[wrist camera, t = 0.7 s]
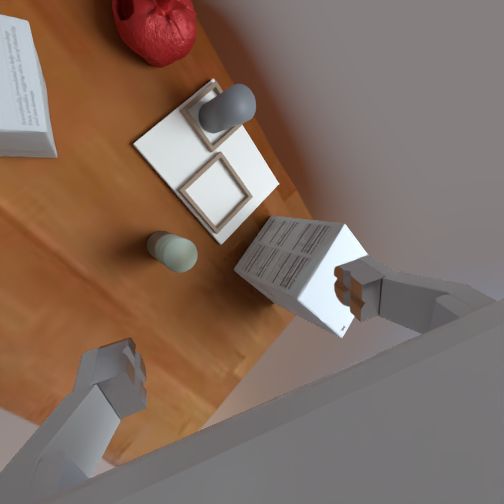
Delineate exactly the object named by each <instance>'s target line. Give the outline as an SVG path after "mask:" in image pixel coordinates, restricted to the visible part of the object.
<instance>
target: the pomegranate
mask: <svg viewBox="0 0 504 504" xmlns="http://www.w3.org/2000/svg"><path fill="white" fill-rule="evenodd" d="M112 12H113V16H114V19H115V24H116V28H117V30H118V33H119V36H120V37H121V39H122V41H123V42H124V43H125V44H126V45H127V46H128V47H129V48H130V49H131V50H132V51H133V52H135V53H137V54H138V55H140V56H141V57H142V58H144V59H145V60H146V61H147V62H148V63H149V64H150V65H154V66H156V67H160V68H161V67H164V66H167V65H169V64H171V63H173V62H175V61H176V60H179V59H182V58H183V57H185V56H186V55H187V54H188V53H189V51H190V50H191V48H192V46H193V44H194V42H195V38H196V33H197V32H196V31H197V28H196V20H195V17H196V15H195V14H196V13H195V12H194V7H193V5H192V3H191V1H190V0H112Z"/></svg>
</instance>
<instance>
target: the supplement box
mask: <svg viewBox="0 0 504 504" xmlns="http://www.w3.org/2000/svg"><path fill="white" fill-rule="evenodd" d="M366 255H368V254H367V253H366V252H365V250H364V249H363V248H362V246H361V245H360V243H359V242H358V241H357V239H356V238H355V237H354V235H353V234H352V233H351V231H350V230H349V229H348V227H347V226H346V225H345V224H342V223H333V222H323V221H315V220H306V219H297V218H288V217H279V216H270V218H269V219H268V221H267V222H266V223H265V225H264V226H263V228H262V229H261V231H260V232H259V233H258V235H257V236H256V238H255V239H254V241H253V242H252V243H251V245H250V246H249V248H248V249H247V251H246V252H245V253H244V255H243V256H242V258H241V259H240V261H239V262H238V263H237V265H236V266H235V268H234V271H235V272H236V273H237V274H239V275H240V276H241V277H242V278H244V279H245V280H246V281H247V282H249V283H250V284H251V285H252V286H254V287H255V288H256V289H257V290H259V291H260V292H261V293H262V294H264V295H265V296H266V297H267V298H269V299H270V300H271V301H272V302H274V303H275V304H277V305H279V306H281V307H282V308H284V309H286V310H288V311H290V312H292V313H294V314H296V315H298V316H300V317H302V318H304V319H305V320H307V321H309V322H311V323H313V324H315V325H317V326H319V327H321V328H322V329H324V330H326V331H328V332H330V333H332V334H334V335H336V336H338V337H340V338H342V337H343V335H344V334H345V332H346V330H347V328H348V327H349V325H350V323H351V322H352V320H353V318H354V315H353V314H352V313H351V312H350V307H348V306H345V305H343V304H342V303H341V302H340V301H339V300H338V298H337V297H336V294H335V291H334V283H335V282H336V280H337V278H336V277H335V276H334V269H335V267H336V266H339V265H342V264H344V263H347V262H350V261H353V260H356V259H358V258H360V257H363V256H366Z"/></svg>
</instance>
